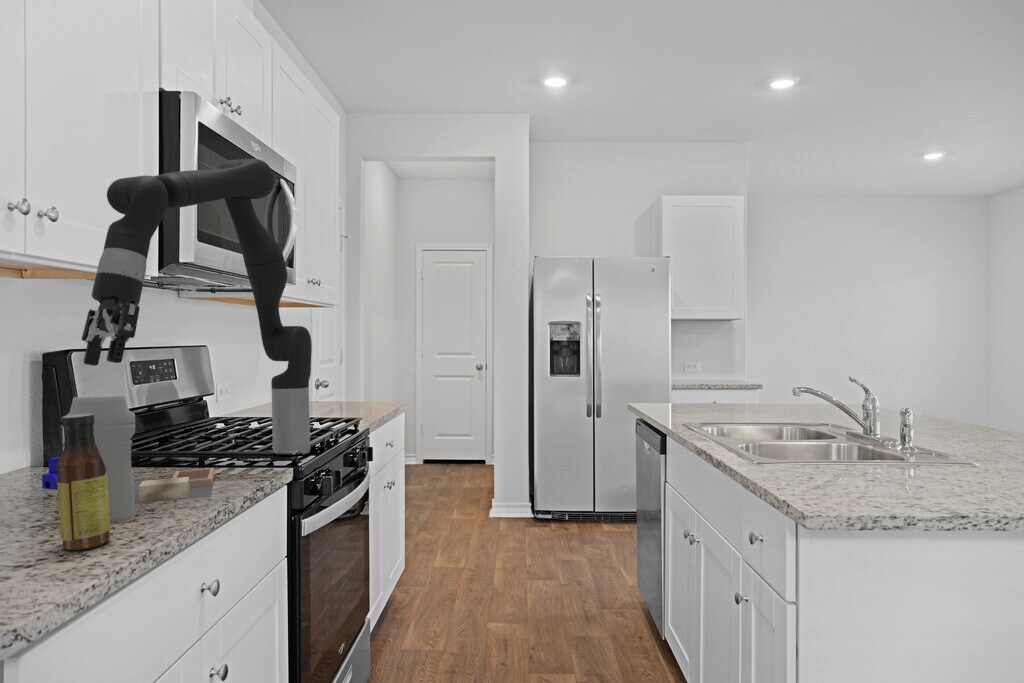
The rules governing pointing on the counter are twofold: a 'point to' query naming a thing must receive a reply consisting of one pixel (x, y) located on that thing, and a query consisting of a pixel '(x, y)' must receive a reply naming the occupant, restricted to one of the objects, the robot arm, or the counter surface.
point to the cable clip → (51, 475)
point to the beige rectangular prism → (164, 489)
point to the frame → (197, 473)
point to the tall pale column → (112, 447)
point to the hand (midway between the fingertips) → (101, 363)
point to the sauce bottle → (82, 487)
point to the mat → (192, 494)
